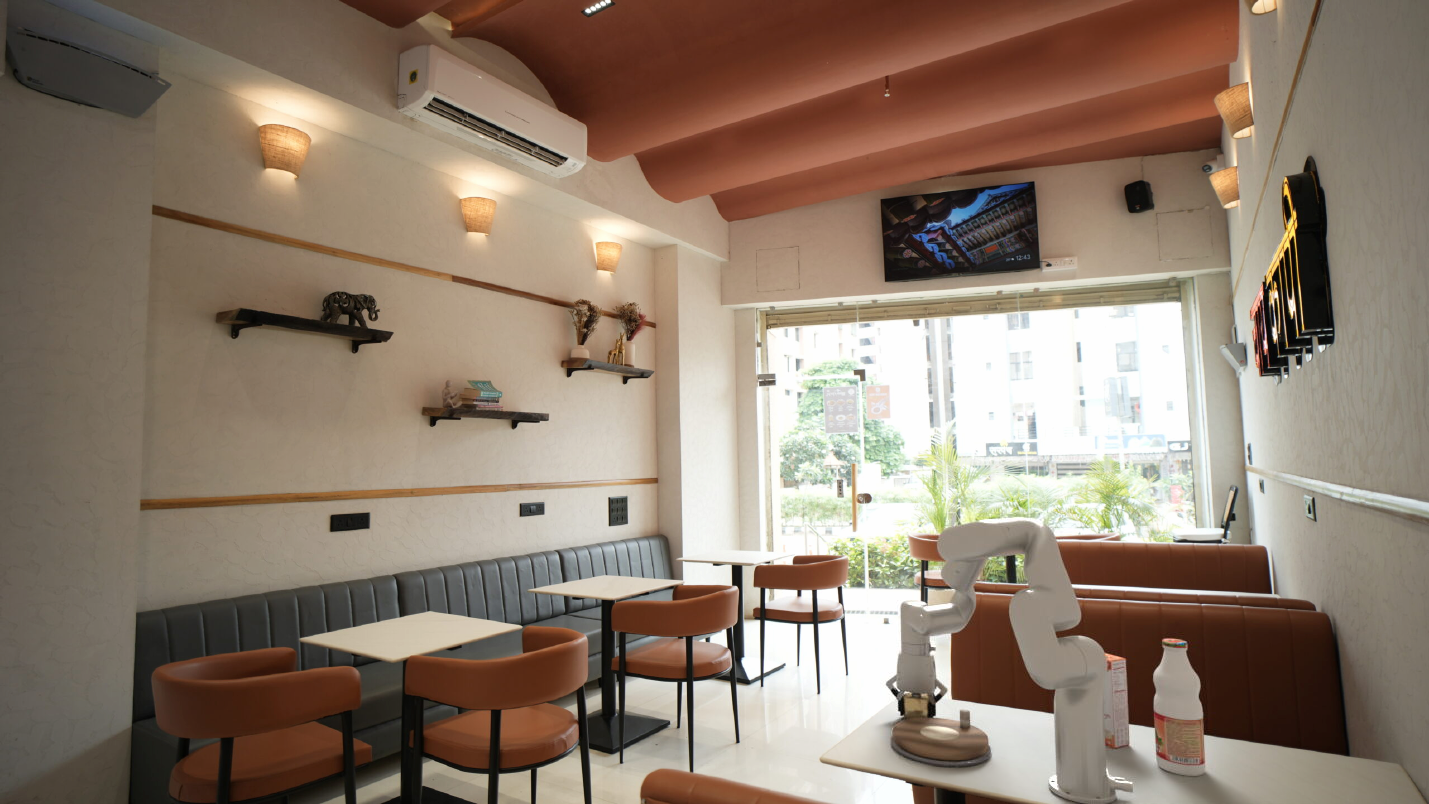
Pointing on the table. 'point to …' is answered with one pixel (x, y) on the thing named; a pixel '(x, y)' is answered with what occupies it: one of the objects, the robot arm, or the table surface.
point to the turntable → (941, 738)
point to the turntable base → (941, 762)
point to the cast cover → (915, 705)
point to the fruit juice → (1178, 713)
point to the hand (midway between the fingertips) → (916, 715)
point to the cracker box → (1116, 703)
